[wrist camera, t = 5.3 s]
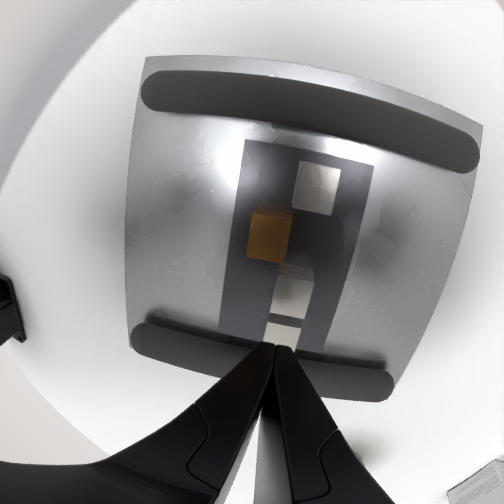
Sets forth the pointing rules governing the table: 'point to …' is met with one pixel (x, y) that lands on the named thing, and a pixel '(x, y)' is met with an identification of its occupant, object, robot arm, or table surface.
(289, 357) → the robot arm
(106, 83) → the table surface
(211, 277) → the breaker panel
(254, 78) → the dark grey rounded bar
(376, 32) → the table surface
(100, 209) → the table surface
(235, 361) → the dark grey rounded rod
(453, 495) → the skincare box
